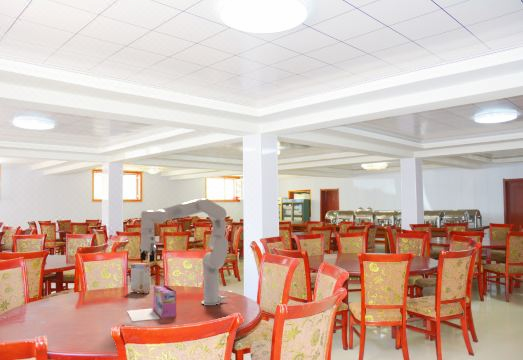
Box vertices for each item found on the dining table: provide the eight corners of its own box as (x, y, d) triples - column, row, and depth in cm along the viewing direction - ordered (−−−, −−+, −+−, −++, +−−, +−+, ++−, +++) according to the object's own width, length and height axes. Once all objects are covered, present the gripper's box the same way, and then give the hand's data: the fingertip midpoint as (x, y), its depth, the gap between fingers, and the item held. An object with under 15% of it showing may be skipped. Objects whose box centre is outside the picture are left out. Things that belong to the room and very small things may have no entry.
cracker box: (150, 292, 300) (150, 263, 301) (143, 294, 295) (144, 264, 296) (136, 291, 307) (137, 262, 309) (130, 292, 302) (130, 263, 304)
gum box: (152, 309, 247) (152, 286, 248) (165, 308, 250) (165, 285, 252) (162, 318, 226) (162, 292, 227) (176, 316, 229) (176, 291, 230)
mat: (151, 309, 247) (151, 308, 247) (159, 319, 224) (159, 318, 224) (126, 311, 242) (126, 310, 242) (132, 322, 218) (132, 321, 218)
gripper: (161, 231, 243) (161, 261, 241) (145, 231, 255) (145, 259, 254) (149, 232, 237) (149, 262, 236) (134, 231, 250) (134, 260, 248)
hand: (147, 261), depth 245 cm, fingers open, 9 cm apart
